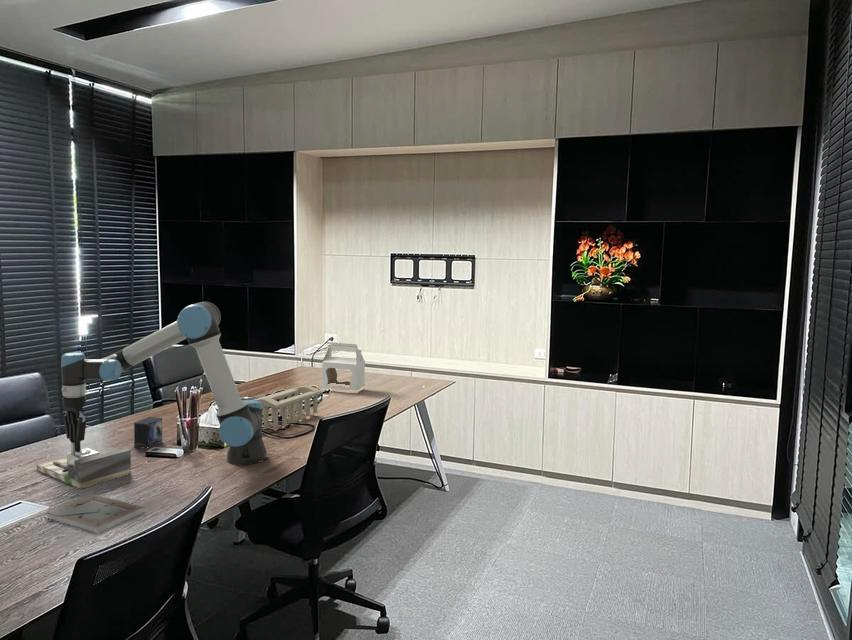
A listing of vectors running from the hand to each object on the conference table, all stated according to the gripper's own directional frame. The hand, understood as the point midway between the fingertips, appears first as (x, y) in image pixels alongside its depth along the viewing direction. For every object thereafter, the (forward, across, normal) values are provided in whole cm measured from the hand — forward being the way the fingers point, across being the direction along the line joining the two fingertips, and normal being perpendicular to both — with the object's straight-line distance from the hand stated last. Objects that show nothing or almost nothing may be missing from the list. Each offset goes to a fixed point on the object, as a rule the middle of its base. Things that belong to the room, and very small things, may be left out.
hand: (76, 458), depth 232 cm
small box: (+4, -6, +33) cm, 34 cm away
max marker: (+2, +13, -8) cm, 15 cm away
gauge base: (+4, +5, 0) cm, 6 cm away
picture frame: (+5, +44, -17) cm, 47 cm away
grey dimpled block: (+2, +5, -3) cm, 6 cm away
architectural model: (+4, +13, +94) cm, 94 cm away
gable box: (+4, -10, +162) cm, 162 cm away
